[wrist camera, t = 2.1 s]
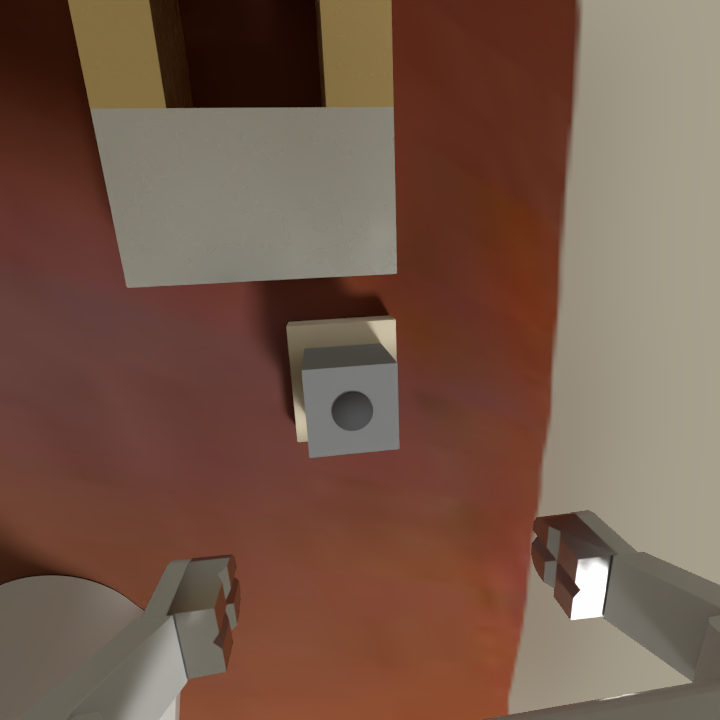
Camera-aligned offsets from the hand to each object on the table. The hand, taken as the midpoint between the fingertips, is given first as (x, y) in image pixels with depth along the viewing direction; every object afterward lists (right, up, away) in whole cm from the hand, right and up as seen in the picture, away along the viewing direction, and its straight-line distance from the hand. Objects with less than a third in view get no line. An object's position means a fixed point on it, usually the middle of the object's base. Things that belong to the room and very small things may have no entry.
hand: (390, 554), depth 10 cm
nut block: (-2, +4, +15) cm, 15 cm away
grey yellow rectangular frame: (-7, +18, +12) cm, 23 cm away
